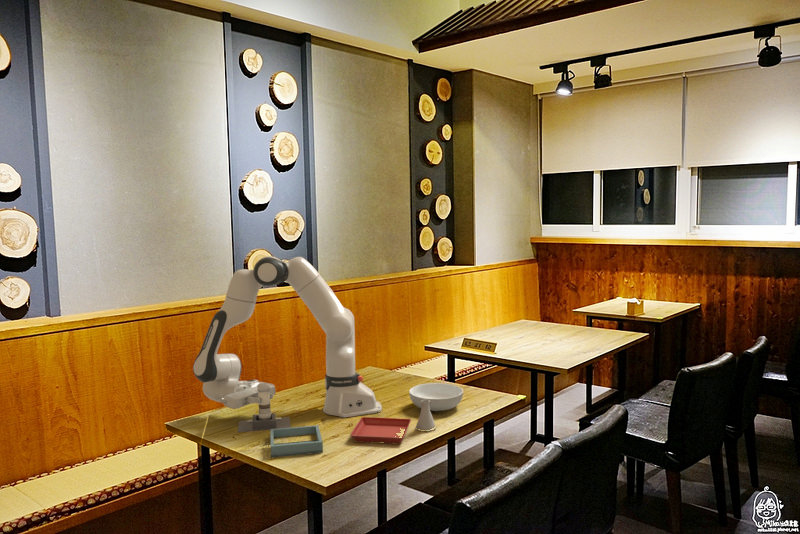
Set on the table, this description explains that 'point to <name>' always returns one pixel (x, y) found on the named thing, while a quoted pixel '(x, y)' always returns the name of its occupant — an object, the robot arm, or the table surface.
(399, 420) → the plant saucer
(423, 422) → the flask
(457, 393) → the serving bowl
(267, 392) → the cylinder
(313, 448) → the tray
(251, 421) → the board
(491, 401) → the table surface
